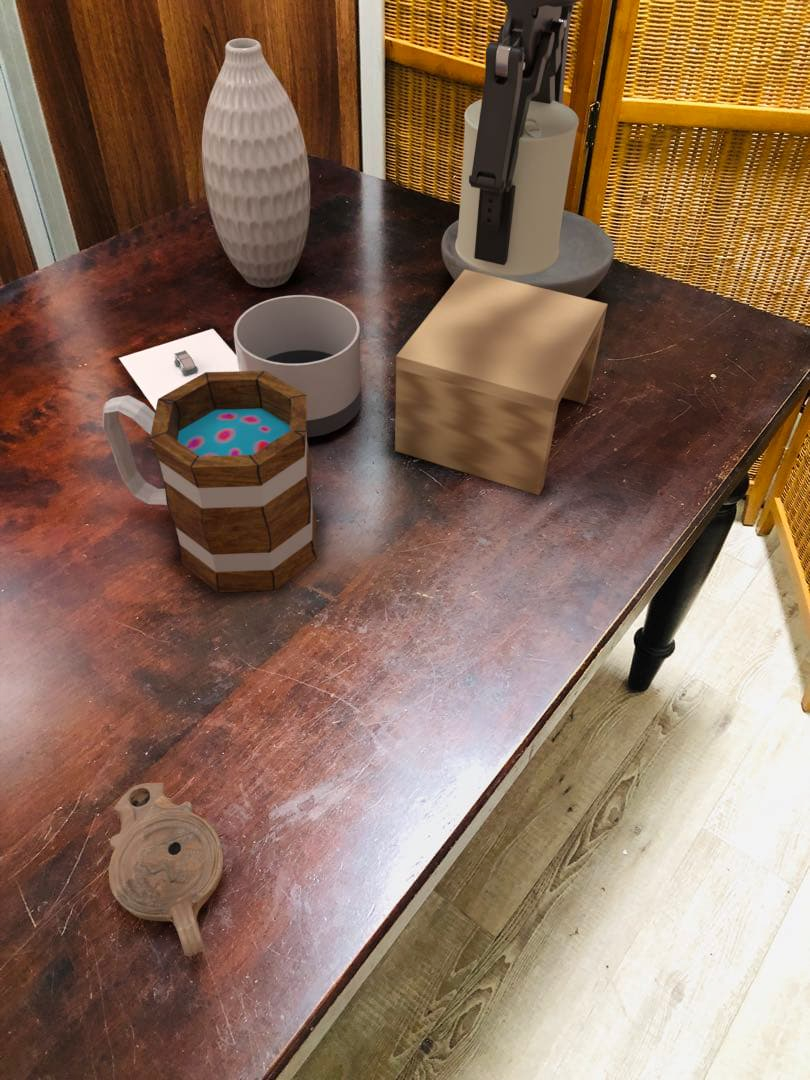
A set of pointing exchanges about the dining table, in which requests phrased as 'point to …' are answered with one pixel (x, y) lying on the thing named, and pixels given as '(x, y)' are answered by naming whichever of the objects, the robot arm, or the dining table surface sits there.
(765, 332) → the dining table surface
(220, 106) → the vase
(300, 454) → the mug
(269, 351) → the planter
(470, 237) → the can
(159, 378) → the white paper sheet
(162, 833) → the oil lamp
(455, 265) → the bowl
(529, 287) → the shelf
